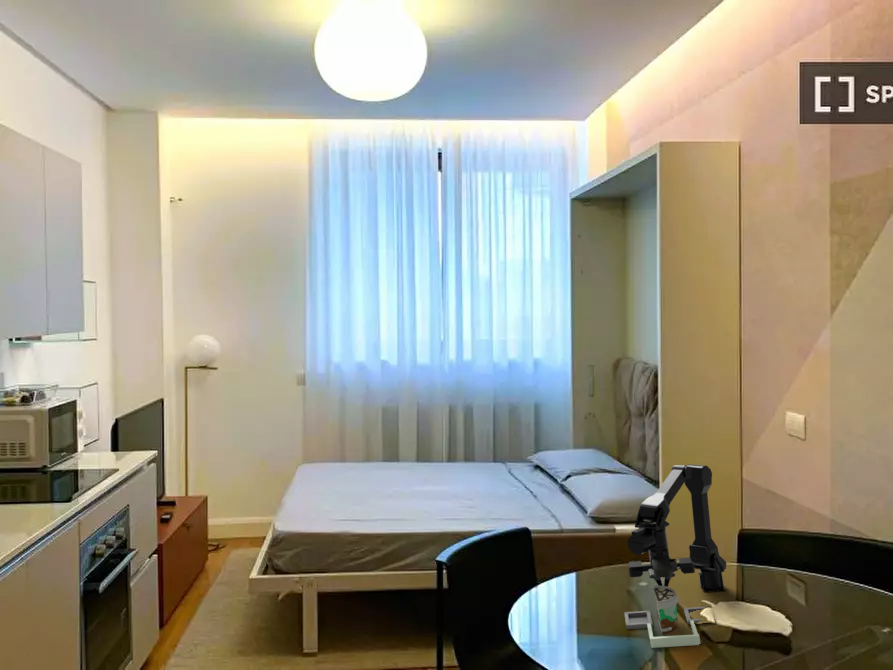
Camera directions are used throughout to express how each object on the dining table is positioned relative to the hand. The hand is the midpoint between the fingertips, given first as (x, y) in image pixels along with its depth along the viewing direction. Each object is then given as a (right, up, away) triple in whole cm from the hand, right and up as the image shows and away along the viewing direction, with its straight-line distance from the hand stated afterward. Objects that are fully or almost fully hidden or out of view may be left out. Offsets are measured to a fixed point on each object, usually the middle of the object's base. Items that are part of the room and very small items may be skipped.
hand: (664, 595), depth 223 cm
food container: (0, -7, -7) cm, 10 cm away
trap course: (-1, -7, -9) cm, 11 cm away
